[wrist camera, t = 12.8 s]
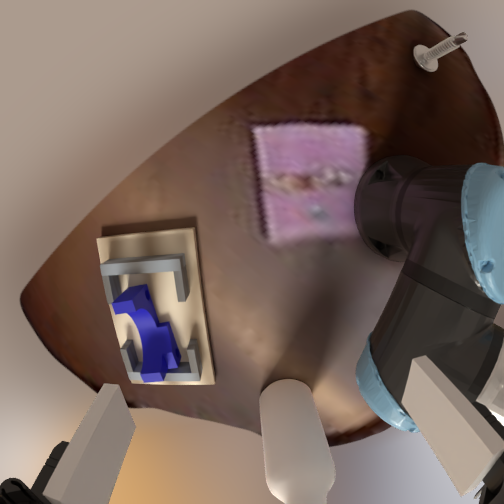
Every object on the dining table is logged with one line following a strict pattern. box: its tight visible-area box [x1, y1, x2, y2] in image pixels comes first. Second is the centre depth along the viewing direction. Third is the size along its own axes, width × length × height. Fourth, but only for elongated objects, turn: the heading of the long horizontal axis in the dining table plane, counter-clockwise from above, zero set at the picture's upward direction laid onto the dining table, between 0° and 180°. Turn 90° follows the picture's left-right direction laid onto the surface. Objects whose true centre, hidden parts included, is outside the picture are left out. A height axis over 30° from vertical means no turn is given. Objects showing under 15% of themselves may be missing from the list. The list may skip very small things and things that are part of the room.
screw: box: [413, 32, 468, 72], centre depth 27 cm, size 13×5×5 cm
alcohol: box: [259, 379, 335, 504], centre depth 30 cm, size 9×9×30 cm
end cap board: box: [97, 227, 216, 385], centre depth 38 cm, size 14×24×4 cm, turn 4°
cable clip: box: [111, 284, 181, 383], centre depth 37 cm, size 12×4×6 cm, turn 11°
